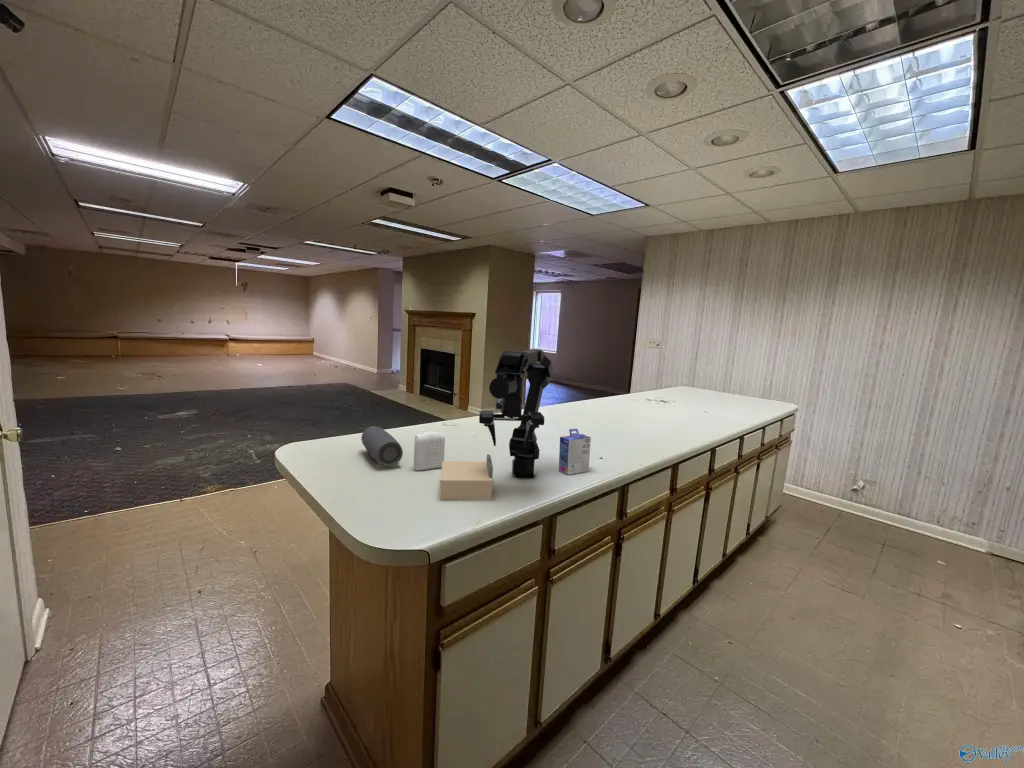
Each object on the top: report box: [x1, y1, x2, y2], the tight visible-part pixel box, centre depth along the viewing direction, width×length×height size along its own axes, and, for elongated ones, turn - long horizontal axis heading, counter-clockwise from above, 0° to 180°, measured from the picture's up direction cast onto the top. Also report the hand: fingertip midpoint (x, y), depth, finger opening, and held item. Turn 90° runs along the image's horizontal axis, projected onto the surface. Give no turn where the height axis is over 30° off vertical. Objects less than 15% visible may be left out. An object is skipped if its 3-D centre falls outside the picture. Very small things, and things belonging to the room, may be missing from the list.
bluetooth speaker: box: [360, 425, 404, 467], centre depth 143 cm, size 23×9×10 cm, turn 32°
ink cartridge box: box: [558, 428, 592, 476], centre depth 141 cm, size 10×6×14 cm, turn 122°
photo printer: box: [413, 430, 446, 471], centre depth 137 cm, size 10×4×12 cm, turn 123°
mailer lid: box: [439, 453, 494, 484], centre depth 121 cm, size 14×16×4 cm
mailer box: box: [440, 482, 493, 501], centre depth 122 cm, size 14×16×5 cm
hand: (509, 446), depth 122 cm, fingers open, 9 cm apart
